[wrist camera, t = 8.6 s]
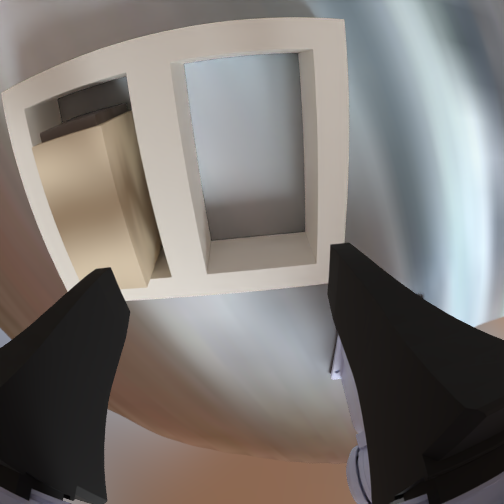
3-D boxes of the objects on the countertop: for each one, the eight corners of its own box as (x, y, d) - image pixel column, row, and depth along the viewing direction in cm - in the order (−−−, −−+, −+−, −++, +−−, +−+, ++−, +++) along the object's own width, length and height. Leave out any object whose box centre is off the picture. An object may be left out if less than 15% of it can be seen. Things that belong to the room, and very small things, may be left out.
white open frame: (326, 249, 20) (340, 282, 18) (91, 271, 21) (73, 302, 18) (323, 28, 13) (344, 19, 10) (35, 84, 13) (1, 92, 10)
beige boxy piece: (165, 238, 20) (147, 287, 16) (111, 244, 20) (84, 291, 16) (135, 100, 15) (98, 114, 11) (76, 116, 15) (29, 137, 11)
